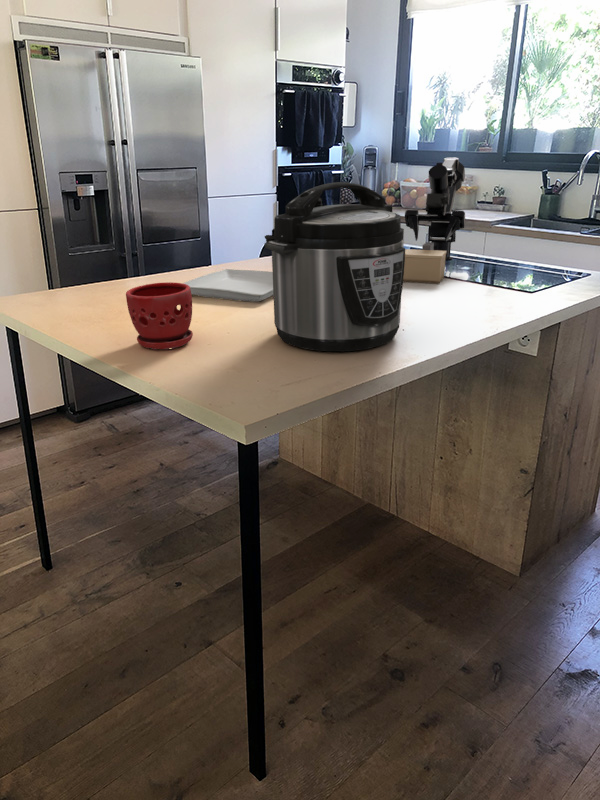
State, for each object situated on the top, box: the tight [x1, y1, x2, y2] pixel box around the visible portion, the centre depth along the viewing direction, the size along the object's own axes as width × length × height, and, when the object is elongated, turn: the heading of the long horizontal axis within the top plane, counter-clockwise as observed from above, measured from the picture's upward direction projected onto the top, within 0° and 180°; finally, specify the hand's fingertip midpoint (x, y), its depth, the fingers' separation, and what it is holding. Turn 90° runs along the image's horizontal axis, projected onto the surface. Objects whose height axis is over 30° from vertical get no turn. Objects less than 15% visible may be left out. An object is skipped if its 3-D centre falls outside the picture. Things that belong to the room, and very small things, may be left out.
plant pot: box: [125, 281, 194, 350], centre depth 133 cm, size 13×13×12 cm
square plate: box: [182, 268, 273, 303], centre depth 182 cm, size 27×27×4 cm
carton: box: [403, 255, 446, 285], centre depth 192 cm, size 10×12×7 cm
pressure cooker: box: [264, 181, 406, 352], centre depth 132 cm, size 30×28×32 cm
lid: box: [405, 241, 447, 259], centre depth 194 cm, size 17×12×3 cm
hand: (430, 240), depth 201 cm, fingers open, 9 cm apart
